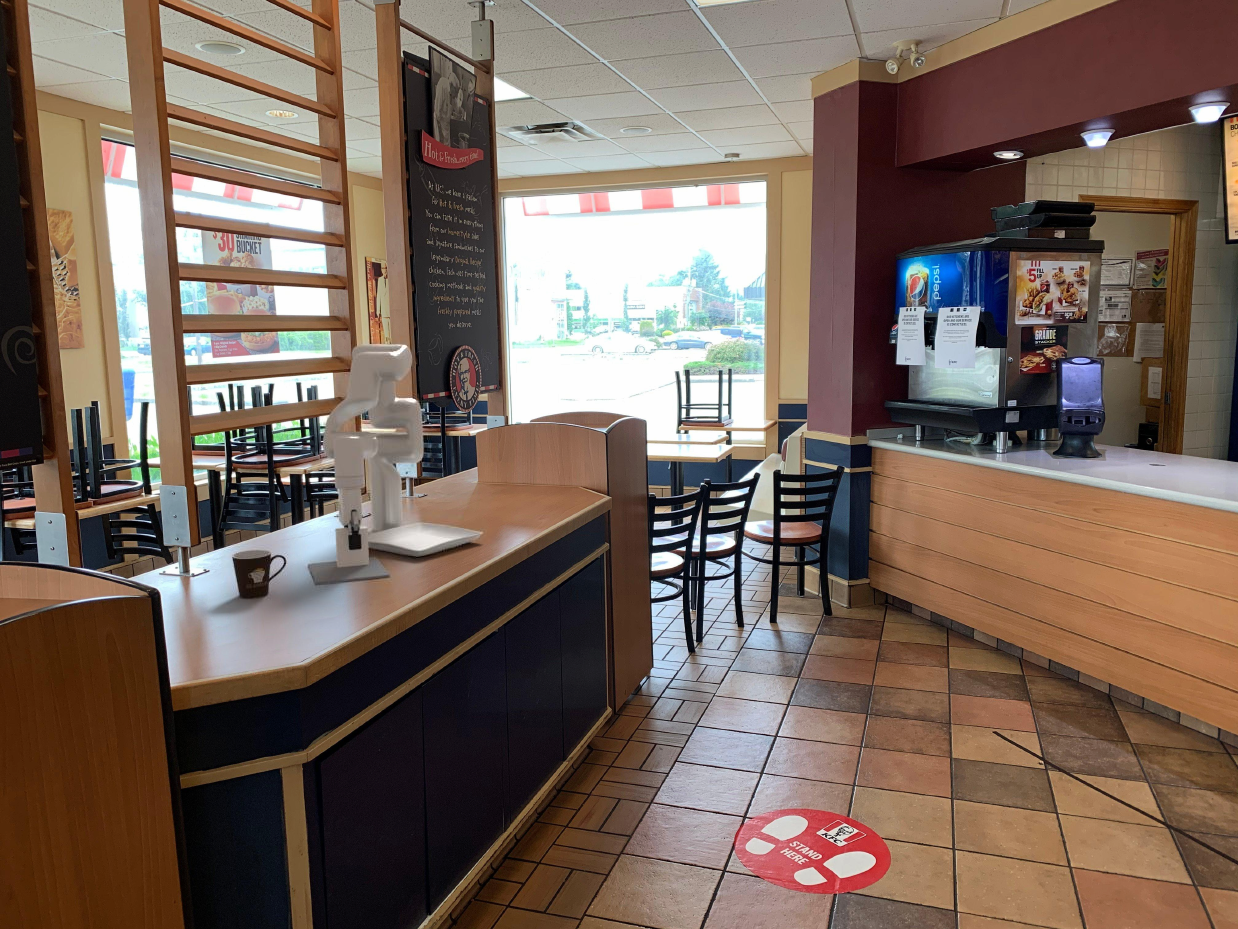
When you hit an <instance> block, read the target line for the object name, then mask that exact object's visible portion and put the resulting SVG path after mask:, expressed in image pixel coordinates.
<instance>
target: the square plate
mask: <svg viewBox="0 0 1238 929" xmlns="http://www.w3.org/2000/svg"><path fill="white" fill-rule="evenodd" d="M483 534H484V532H483V531H477V530H473V529H468V528H463V527H457V526H453V525H452V526H451V525H445V524H438V523H427V522H417V523H412V524H406V525H403V526H401V527H397V528H392V529H388V530H384V531H380V532H377V533H373V534H368V549H373V550H378V551H383V552H387V553H393V554H399V555H404V556H410V557H422V556H423V557H424V556H429V555H432V554H436V553H440V552H443V551H446V550H450V549H453V548H457V547H460V546H463V545H466V544H469V543H470V542H473V541H475V540H477V539H478V538H480V536H481V535H483ZM462 544H463V545H462ZM459 545H460V546H459ZM456 546H457V547H456ZM449 548H450V549H449ZM445 549H446V550H445ZM442 550H443V551H442Z"/></svg>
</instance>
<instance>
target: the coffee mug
mask: <svg viewBox="0 0 1238 929" xmlns="http://www.w3.org/2000/svg"><path fill="white" fill-rule="evenodd" d="M231 558H232V563H233V568H234V575H235V579H236V584H237V590H238V594H239V595H238V596H239V598H241V599H245V600H248V599H250V600H252V599H259V598H263V597H266V596H268V595H269V591H270V590H269V589H270V582H271V581H272V580H273V579H274V578H276V577H277V576H279V574H280V573H282V571H283V570H284V569H285V567H286V564H287V559H286V557H285V556H284V555H281V554H276V555H275V554H274V556H272V552H271V551H270V550H267V549H249V550H243V551H238V552H235V553H233V554H232V555H231ZM277 558H280V559H283V564H282V566H281V568H280V569H279V570H277V572H274V574H273V575H271V564H272V562H273V560H275V559H277ZM270 575H271V576H270Z"/></svg>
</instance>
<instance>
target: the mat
mask: <svg viewBox="0 0 1238 929" xmlns="http://www.w3.org/2000/svg"><path fill="white" fill-rule="evenodd" d="M307 566H308V569H309V572H310V574H311V575H312V578H313V580H314V582H315V585H316V586H317V585H318V586H320V585H328V584H335V583H336V584H337V583H345V582H346V583H347V582H355V581H364V580H372V579H382V578H390V573H389V572H388V571H387V569H386V568H385V566H384V565H383V564H382V562H380V560H379V558H377V556H373V557H372V556H371V557H369V564H368V565H358V566H348V567H338V566H337V560H332V561H324V562H315V563H314V562H313V563H307Z"/></svg>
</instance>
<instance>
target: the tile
mask: <svg viewBox="0 0 1238 929" xmlns="http://www.w3.org/2000/svg"><path fill="white" fill-rule="evenodd" d="M351 528H352V527H351ZM334 530H335V548H336V561H337V566H338V567H348V566H358V565H368V564H369V558H370V556H369V552H370V551H369V548H368V535H369V534H368V527H367V525H365V526H364V525H363V526H360V532H361V545H362V548H361V549H358V550H349V542H348V535H349V528H344V527H341V528H340V527H339V528H335V529H334ZM351 530H352V529H351Z"/></svg>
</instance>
